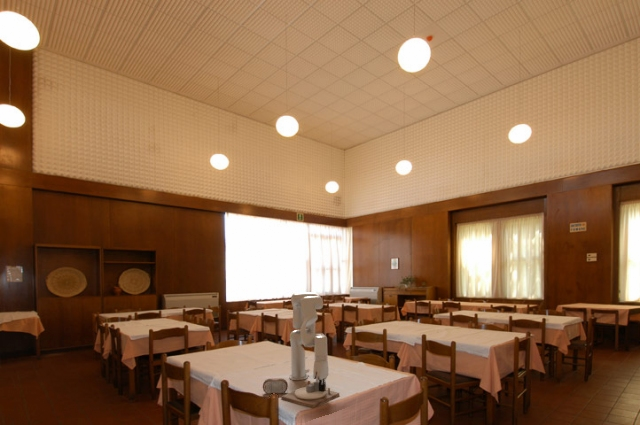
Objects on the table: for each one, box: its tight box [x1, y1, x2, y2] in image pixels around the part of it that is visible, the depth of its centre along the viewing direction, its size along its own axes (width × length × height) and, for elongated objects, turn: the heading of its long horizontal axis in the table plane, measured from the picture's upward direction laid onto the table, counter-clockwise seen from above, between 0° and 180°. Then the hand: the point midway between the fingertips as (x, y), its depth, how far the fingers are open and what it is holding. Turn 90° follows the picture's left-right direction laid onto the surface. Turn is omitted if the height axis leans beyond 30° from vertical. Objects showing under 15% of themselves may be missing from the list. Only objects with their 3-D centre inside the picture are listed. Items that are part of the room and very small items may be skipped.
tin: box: [262, 378, 289, 395], centre depth 230 cm, size 15×3×8 cm, turn 92°
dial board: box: [280, 380, 340, 409], centre depth 221 cm, size 24×24×6 cm
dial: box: [294, 380, 327, 400], centre depth 222 cm, size 18×18×6 cm
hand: (321, 391), depth 218 cm, fingers closed
